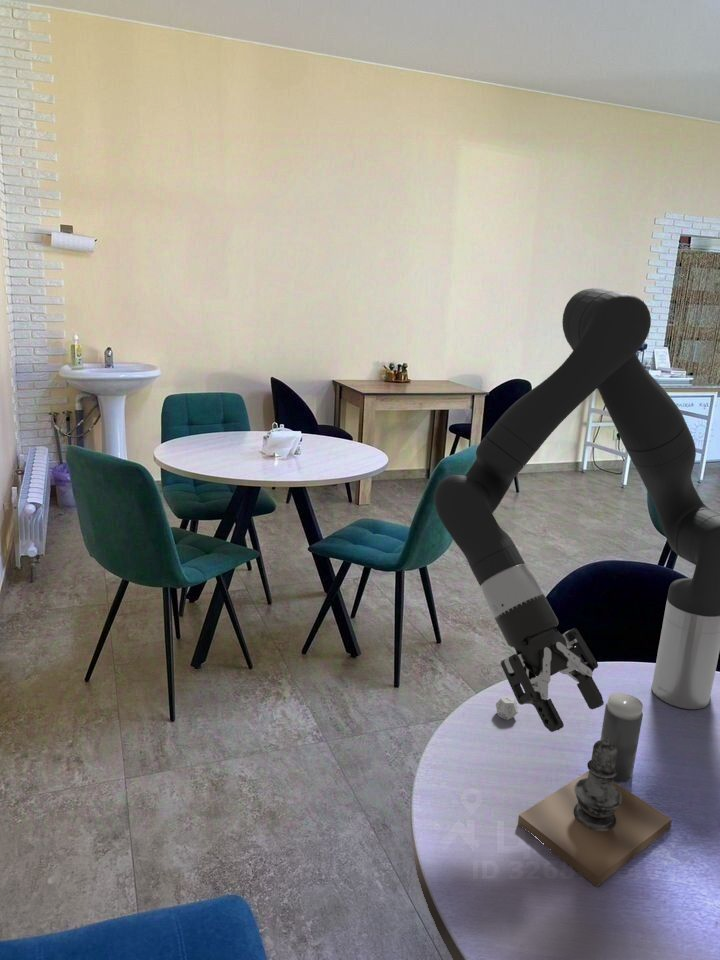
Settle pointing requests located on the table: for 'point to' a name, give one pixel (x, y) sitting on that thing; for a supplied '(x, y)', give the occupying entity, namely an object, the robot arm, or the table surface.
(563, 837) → the walnut board
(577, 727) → the table surface
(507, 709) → the game die
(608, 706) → the grey cylinder
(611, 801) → the grey chess piece
